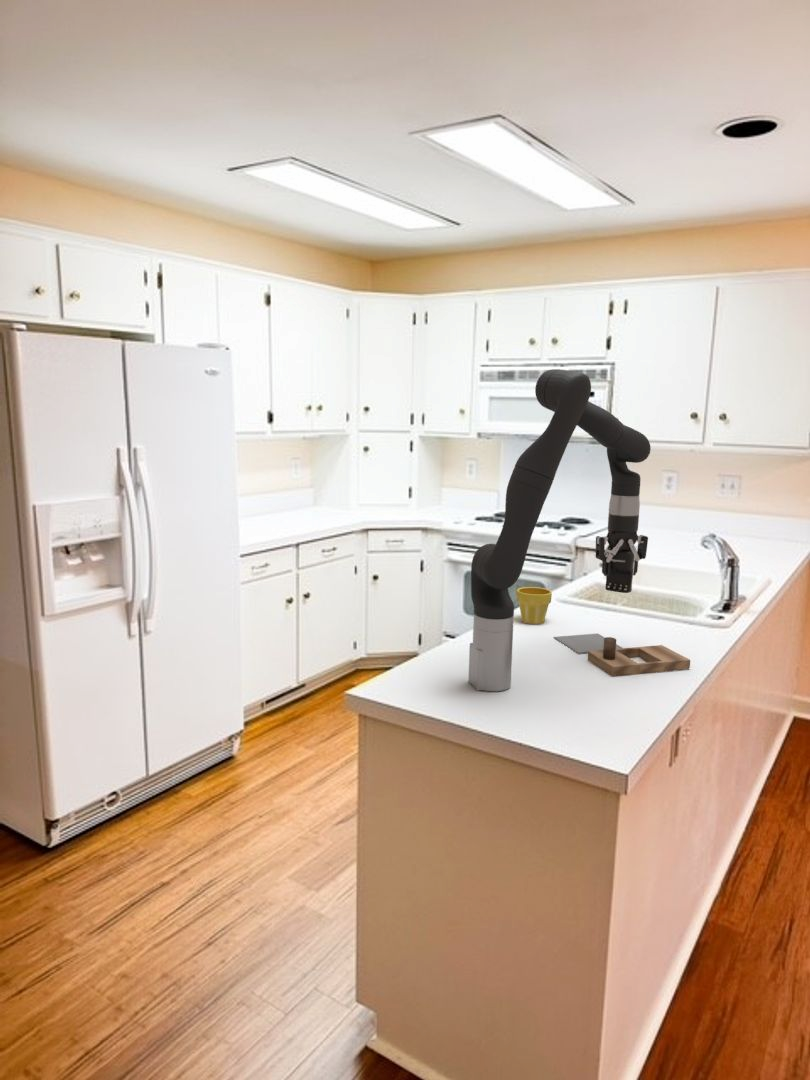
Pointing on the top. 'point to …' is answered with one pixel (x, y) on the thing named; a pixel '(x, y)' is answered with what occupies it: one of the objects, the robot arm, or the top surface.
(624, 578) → the battery charger
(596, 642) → the rubber mat
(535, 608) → the plant pot
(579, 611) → the top surface
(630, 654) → the plane body
